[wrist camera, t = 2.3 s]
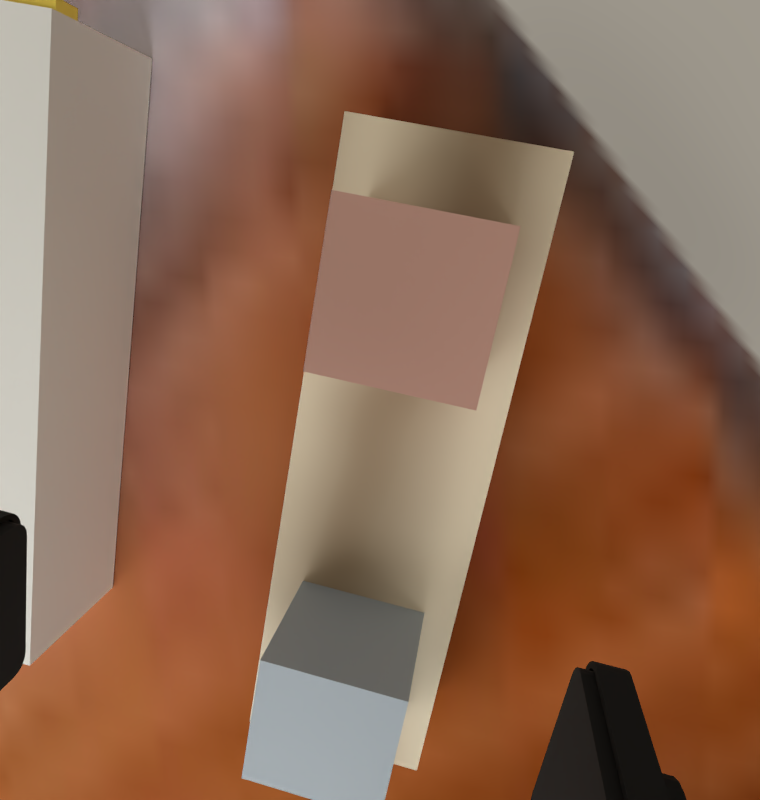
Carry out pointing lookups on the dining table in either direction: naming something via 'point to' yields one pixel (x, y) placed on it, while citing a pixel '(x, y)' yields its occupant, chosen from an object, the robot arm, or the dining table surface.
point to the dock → (66, 296)
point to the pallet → (414, 408)
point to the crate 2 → (332, 696)
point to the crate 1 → (408, 298)
